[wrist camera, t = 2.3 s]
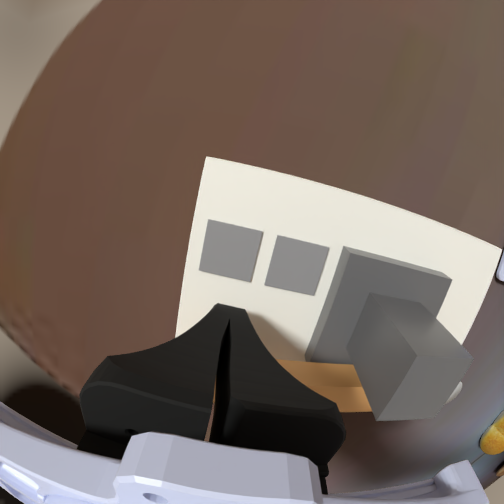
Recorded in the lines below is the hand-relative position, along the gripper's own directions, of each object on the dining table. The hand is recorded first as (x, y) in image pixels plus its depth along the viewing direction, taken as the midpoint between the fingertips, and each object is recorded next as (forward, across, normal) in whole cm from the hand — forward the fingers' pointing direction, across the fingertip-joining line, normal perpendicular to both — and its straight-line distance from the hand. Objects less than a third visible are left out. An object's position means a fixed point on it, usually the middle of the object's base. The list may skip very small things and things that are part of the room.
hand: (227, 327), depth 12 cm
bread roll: (+4, -36, +11) cm, 38 cm away
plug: (+3, -7, -1) cm, 8 cm away
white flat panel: (+4, -6, -1) cm, 7 cm away
